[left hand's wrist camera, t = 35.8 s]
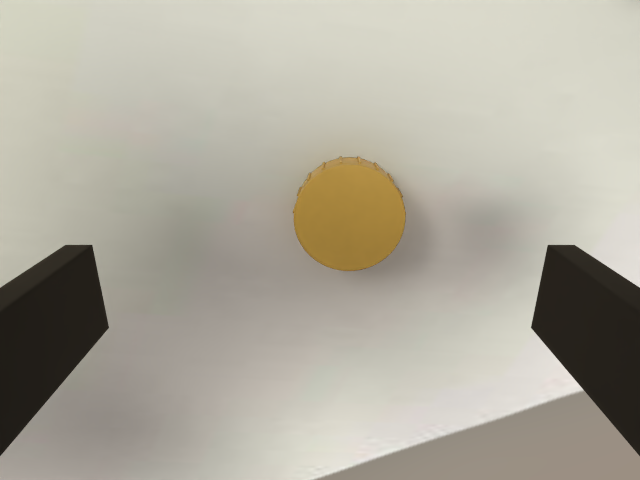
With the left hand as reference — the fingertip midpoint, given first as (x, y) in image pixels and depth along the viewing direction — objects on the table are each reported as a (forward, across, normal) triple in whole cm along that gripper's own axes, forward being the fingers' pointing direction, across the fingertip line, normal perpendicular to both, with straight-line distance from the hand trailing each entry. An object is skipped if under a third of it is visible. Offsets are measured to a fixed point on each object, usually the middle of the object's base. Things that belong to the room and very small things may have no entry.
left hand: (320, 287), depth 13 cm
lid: (+8, +1, 0) cm, 8 cm away
